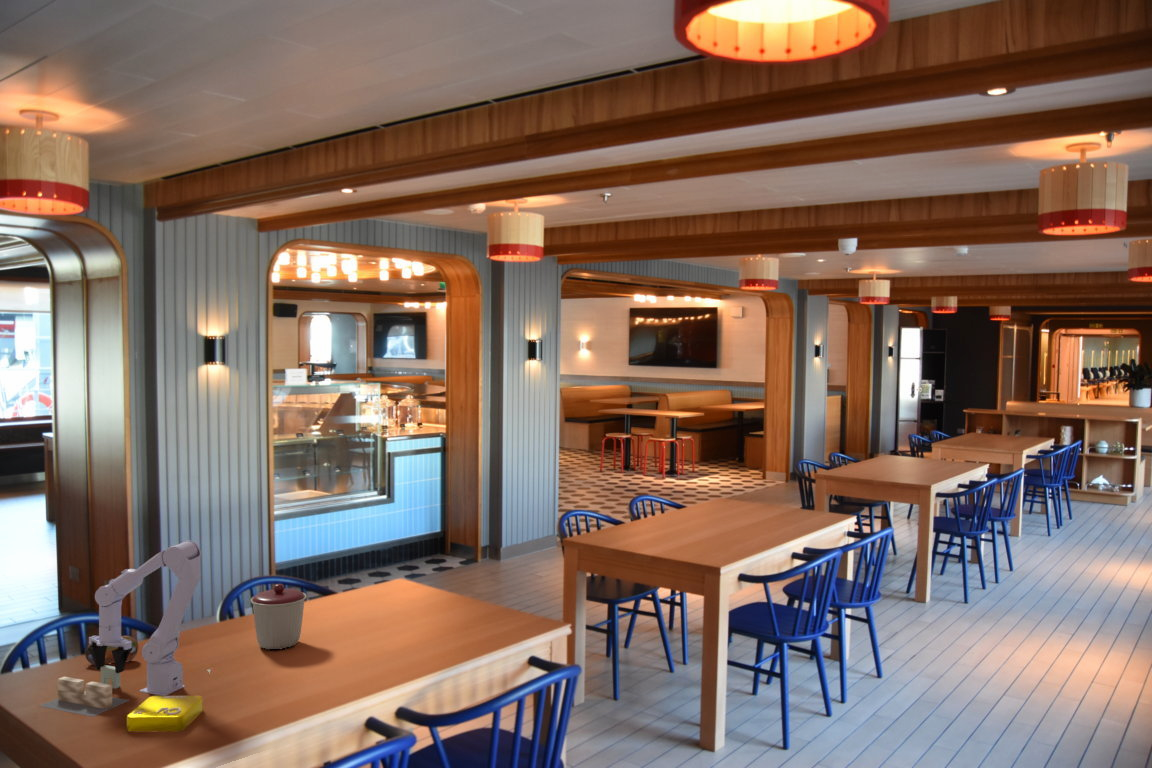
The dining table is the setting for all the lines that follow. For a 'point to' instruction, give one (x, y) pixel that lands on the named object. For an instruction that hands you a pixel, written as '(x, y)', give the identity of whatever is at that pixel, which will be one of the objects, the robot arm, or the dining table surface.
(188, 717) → the element tile
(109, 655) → the tin
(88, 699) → the birch notched plate
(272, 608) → the canister
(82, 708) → the slate mat
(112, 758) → the dining table surface
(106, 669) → the sage slotted block
